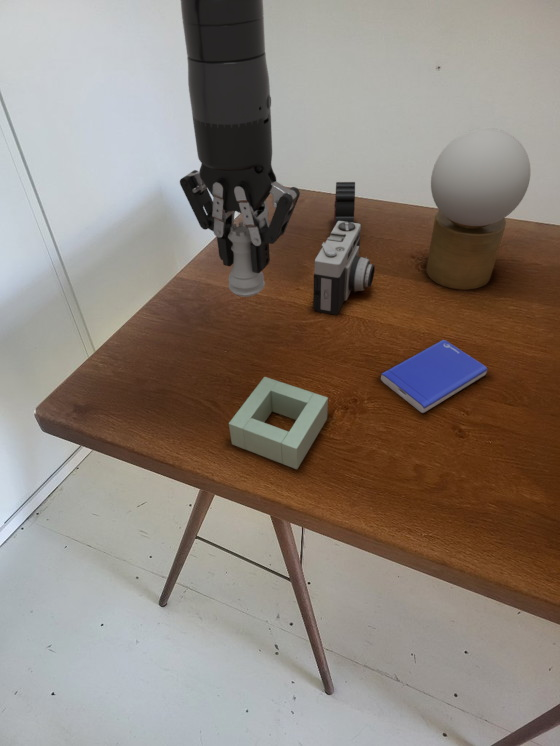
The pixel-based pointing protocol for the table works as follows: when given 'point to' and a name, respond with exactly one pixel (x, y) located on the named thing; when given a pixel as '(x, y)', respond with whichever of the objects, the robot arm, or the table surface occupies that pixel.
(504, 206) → the lamp
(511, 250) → the table surface
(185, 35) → the robot arm
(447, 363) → the hard drive
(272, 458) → the socket
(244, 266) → the rook chess piece
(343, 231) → the camera
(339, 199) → the extruded letter emblem
